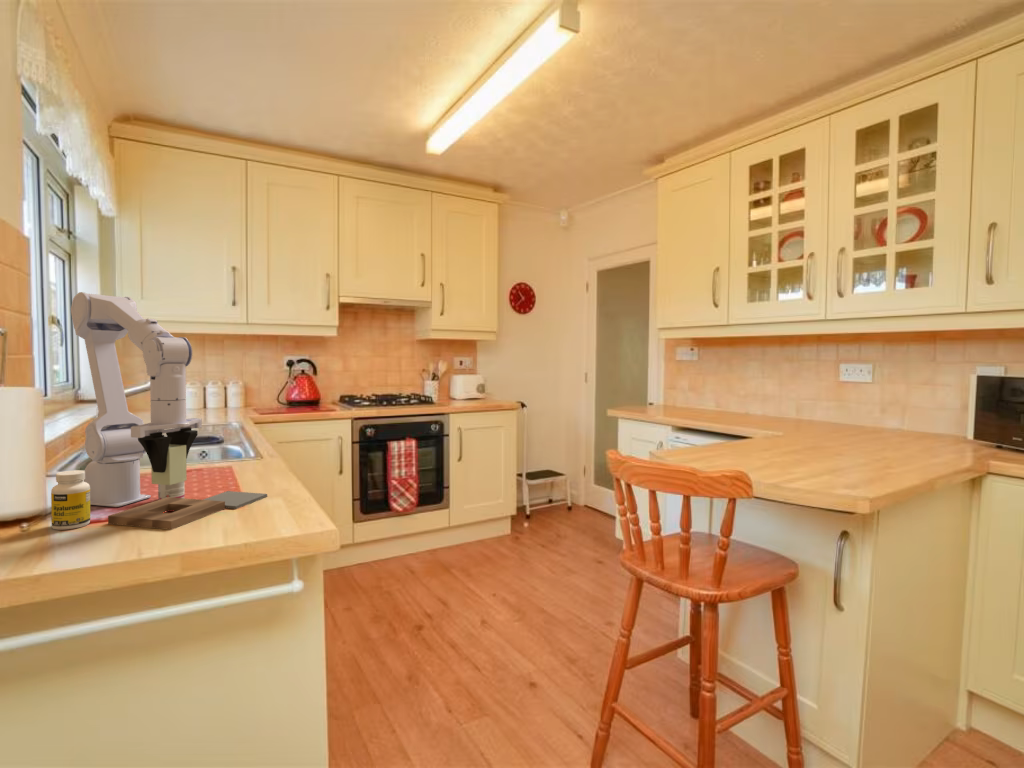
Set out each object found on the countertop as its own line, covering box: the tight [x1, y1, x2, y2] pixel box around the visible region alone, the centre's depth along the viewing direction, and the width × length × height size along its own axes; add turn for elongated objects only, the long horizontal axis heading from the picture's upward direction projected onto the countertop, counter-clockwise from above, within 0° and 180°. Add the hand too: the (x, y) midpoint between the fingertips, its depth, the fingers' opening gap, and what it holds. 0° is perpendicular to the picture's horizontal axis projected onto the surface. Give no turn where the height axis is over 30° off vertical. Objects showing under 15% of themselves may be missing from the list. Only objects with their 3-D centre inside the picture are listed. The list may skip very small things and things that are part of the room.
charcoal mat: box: [202, 490, 268, 510], centre depth 112 cm, size 10×10×1 cm
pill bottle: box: [157, 481, 186, 500], centre depth 112 cm, size 5×5×8 cm
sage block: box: [150, 444, 188, 485], centre depth 101 cm, size 4×4×7 cm
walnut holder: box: [107, 497, 226, 530], centre depth 101 cm, size 13×13×2 cm
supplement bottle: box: [50, 469, 91, 531], centre depth 94 cm, size 5×5×10 cm
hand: (169, 469), depth 101 cm, fingers closed on sage block, 4 cm apart
